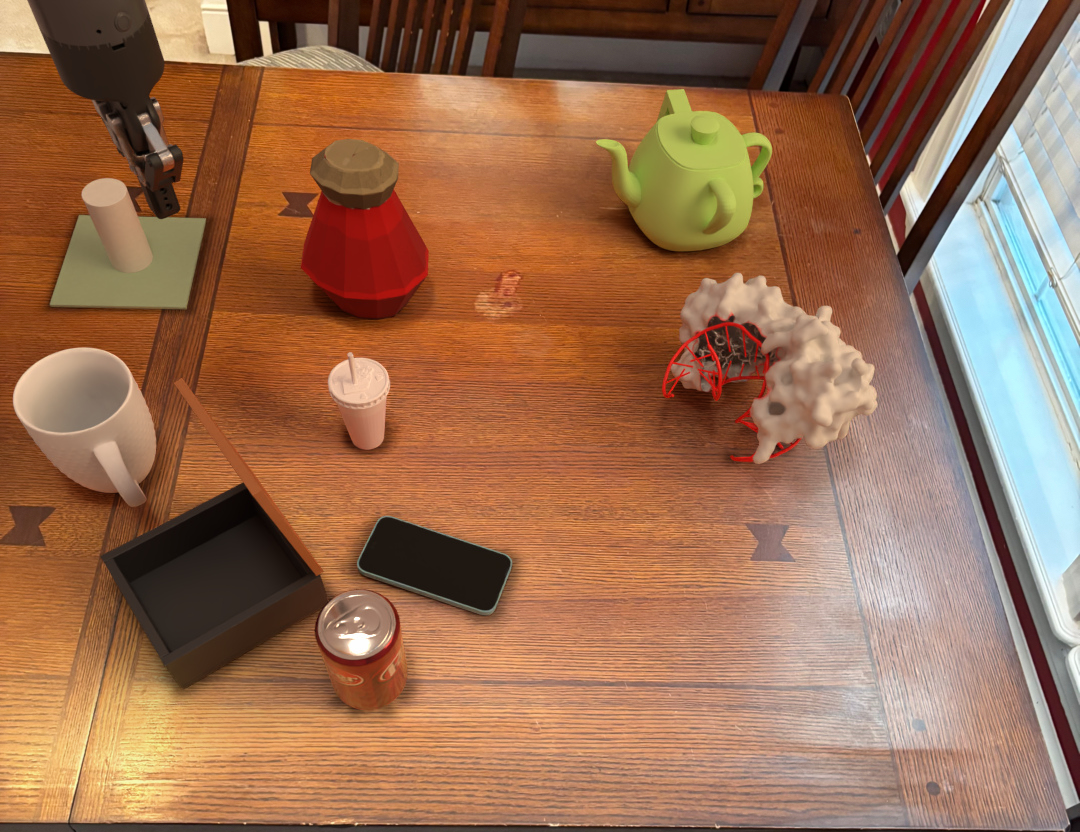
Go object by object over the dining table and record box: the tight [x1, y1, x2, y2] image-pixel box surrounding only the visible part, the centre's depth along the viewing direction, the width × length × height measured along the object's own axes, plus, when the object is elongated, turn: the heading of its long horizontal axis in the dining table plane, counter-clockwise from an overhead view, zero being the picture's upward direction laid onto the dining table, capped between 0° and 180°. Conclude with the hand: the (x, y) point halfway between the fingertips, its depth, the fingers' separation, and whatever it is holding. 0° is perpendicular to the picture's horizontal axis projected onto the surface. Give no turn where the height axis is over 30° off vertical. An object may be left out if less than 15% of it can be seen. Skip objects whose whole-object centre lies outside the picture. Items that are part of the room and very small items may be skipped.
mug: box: [12, 347, 157, 508], centre depth 91 cm, size 15×11×13 cm
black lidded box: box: [100, 482, 329, 691], centre depth 88 cm, size 16×14×6 cm
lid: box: [173, 377, 324, 576], centre depth 80 cm, size 17×14×1 cm
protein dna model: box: [661, 272, 878, 465], centre depth 100 cm, size 20×18×25 cm
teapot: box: [595, 88, 773, 252], centre depth 117 cm, size 19×20×14 cm
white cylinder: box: [81, 177, 153, 273], centre depth 108 cm, size 5×5×10 cm
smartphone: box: [356, 515, 513, 616], centre depth 93 cm, size 7×1×15 cm
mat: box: [48, 214, 207, 311], centre depth 113 cm, size 16×16×1 cm
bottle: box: [300, 138, 430, 321], centre depth 104 cm, size 16×14×20 cm
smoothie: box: [327, 351, 391, 451], centre depth 95 cm, size 6×6×14 cm
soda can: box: [314, 588, 409, 711], centre depth 82 cm, size 7×7×12 cm
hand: (166, 211), depth 79 cm, fingers closed
